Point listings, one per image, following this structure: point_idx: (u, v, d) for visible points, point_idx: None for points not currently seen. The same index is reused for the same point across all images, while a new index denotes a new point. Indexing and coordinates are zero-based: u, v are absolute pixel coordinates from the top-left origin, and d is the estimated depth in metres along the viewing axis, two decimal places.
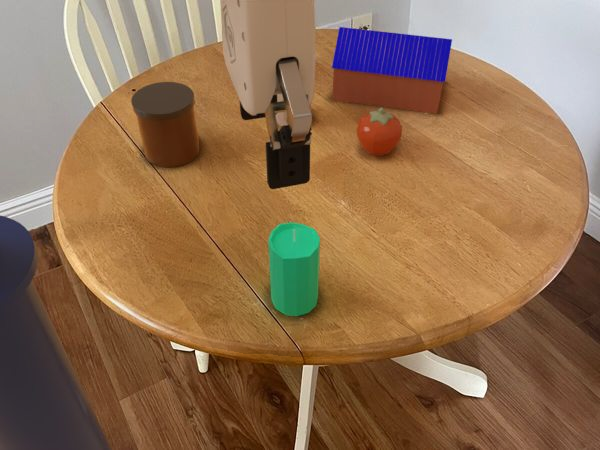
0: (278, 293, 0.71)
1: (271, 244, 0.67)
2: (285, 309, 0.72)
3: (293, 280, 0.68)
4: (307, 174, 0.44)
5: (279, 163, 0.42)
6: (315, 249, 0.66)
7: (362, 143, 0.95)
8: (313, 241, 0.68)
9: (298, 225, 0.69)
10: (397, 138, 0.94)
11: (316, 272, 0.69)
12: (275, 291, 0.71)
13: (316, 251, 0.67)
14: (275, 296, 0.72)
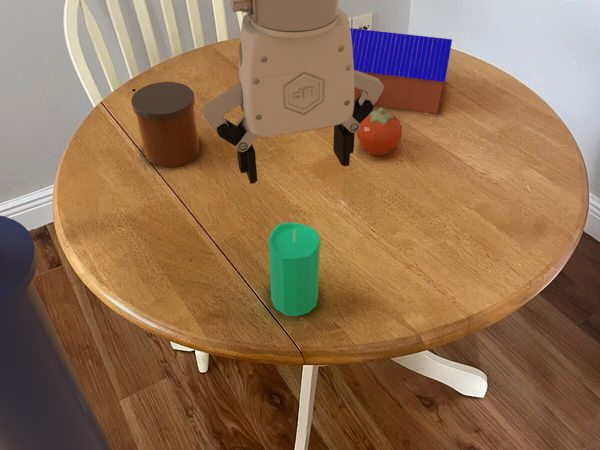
0: (278, 293, 0.71)
1: (271, 244, 0.67)
2: (285, 309, 0.72)
3: (293, 280, 0.68)
4: None
5: (350, 141, 0.59)
6: (315, 249, 0.66)
7: (362, 143, 0.95)
8: (313, 241, 0.68)
9: (298, 225, 0.69)
10: (397, 138, 0.94)
11: (316, 272, 0.69)
12: (275, 291, 0.71)
13: (316, 251, 0.67)
14: (275, 296, 0.72)
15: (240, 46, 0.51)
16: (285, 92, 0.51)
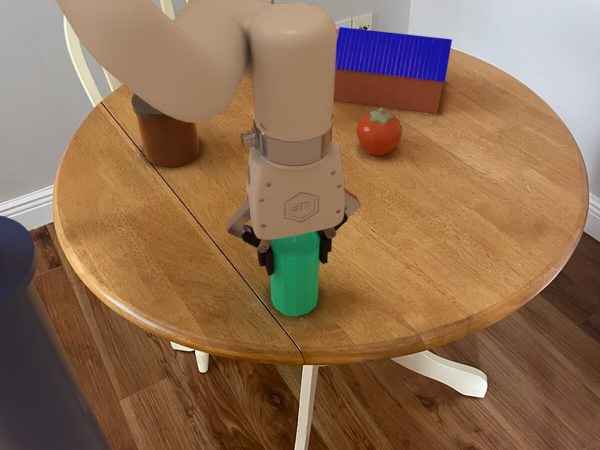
0: (278, 293, 0.71)
1: (271, 244, 0.67)
2: (285, 309, 0.72)
3: (293, 280, 0.68)
4: None
5: (328, 244, 0.68)
6: (315, 249, 0.66)
7: (362, 143, 0.95)
8: (313, 241, 0.68)
9: None
10: (397, 138, 0.94)
11: (316, 272, 0.69)
12: (275, 291, 0.71)
13: (316, 251, 0.67)
14: (275, 296, 0.72)
15: (248, 167, 0.60)
16: (286, 207, 0.60)
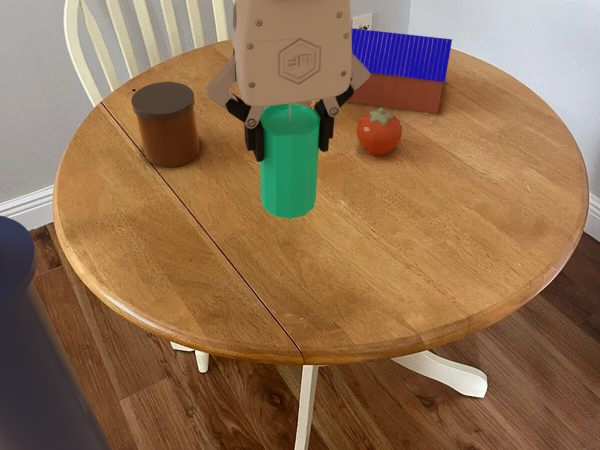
0: (269, 188, 0.60)
1: (262, 122, 0.56)
2: (277, 210, 0.61)
3: (287, 167, 0.57)
4: None
5: (330, 126, 0.57)
6: (315, 128, 0.55)
7: (362, 143, 0.95)
8: (312, 122, 0.57)
9: (294, 105, 0.58)
10: (397, 138, 0.94)
11: (315, 161, 0.58)
12: (265, 186, 0.60)
13: (316, 131, 0.56)
14: (265, 193, 0.60)
15: (234, 10, 0.49)
16: (280, 59, 0.49)
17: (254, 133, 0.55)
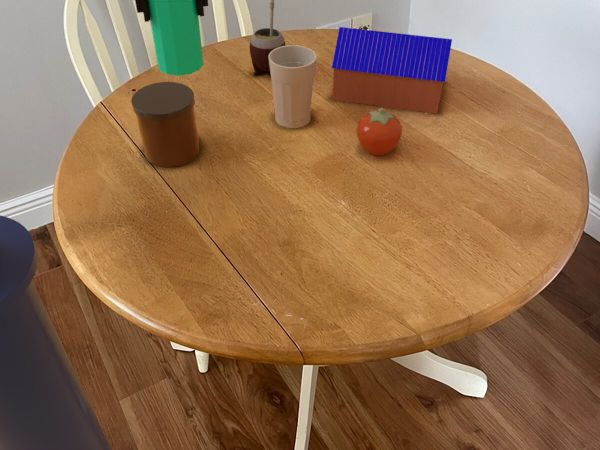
0: (159, 48, 0.73)
1: None
2: (167, 67, 0.75)
3: (168, 25, 0.71)
4: None
5: None
6: None
7: (362, 143, 0.95)
8: None
9: None
10: (397, 138, 0.94)
11: (193, 23, 0.72)
12: (156, 46, 0.74)
13: None
14: (157, 53, 0.74)
15: None
16: None
17: None
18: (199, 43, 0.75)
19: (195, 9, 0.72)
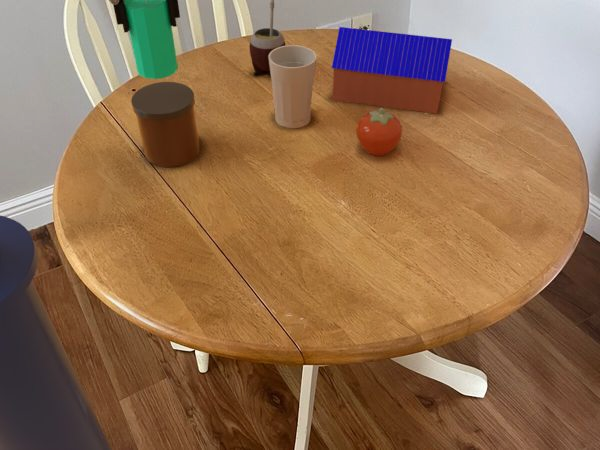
0: (137, 55, 0.83)
1: (124, 1, 0.79)
2: (145, 72, 0.85)
3: (145, 35, 0.81)
4: None
5: (176, 6, 0.81)
6: (161, 4, 0.79)
7: (362, 143, 0.95)
8: (162, 2, 0.80)
9: None
10: (397, 138, 0.94)
11: (167, 33, 0.82)
12: (135, 53, 0.84)
13: (162, 7, 0.79)
14: (136, 60, 0.84)
15: None
16: None
17: (119, 9, 0.79)
18: (173, 50, 0.85)
19: (168, 20, 0.82)
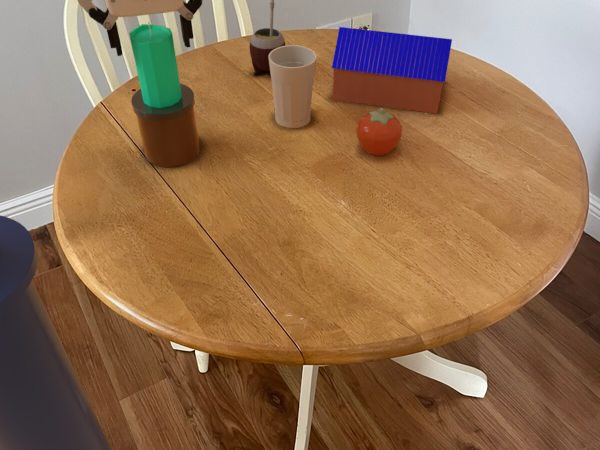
0: (143, 85, 0.87)
1: (131, 35, 0.83)
2: (151, 101, 0.88)
3: (150, 67, 0.84)
4: None
5: (189, 28, 0.84)
6: (165, 38, 0.82)
7: (362, 143, 0.95)
8: (166, 35, 0.84)
9: (157, 26, 0.85)
10: (397, 138, 0.94)
11: (171, 64, 0.85)
12: (141, 83, 0.87)
13: (167, 40, 0.83)
14: (142, 89, 0.88)
15: None
16: None
17: (112, 34, 0.81)
18: (177, 79, 0.88)
19: (173, 52, 0.85)
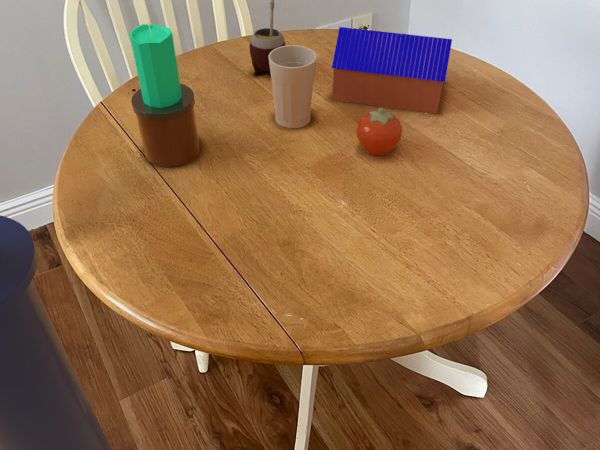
0: (143, 85, 0.87)
1: (131, 35, 0.83)
2: (151, 101, 0.88)
3: (150, 67, 0.84)
4: None
5: None
6: (165, 38, 0.82)
7: (362, 143, 0.95)
8: (166, 35, 0.84)
9: (157, 26, 0.85)
10: (397, 138, 0.94)
11: (171, 64, 0.85)
12: (141, 83, 0.87)
13: (167, 40, 0.83)
14: (142, 89, 0.88)
15: None
16: None
17: None
18: (177, 79, 0.88)
19: (173, 52, 0.85)
